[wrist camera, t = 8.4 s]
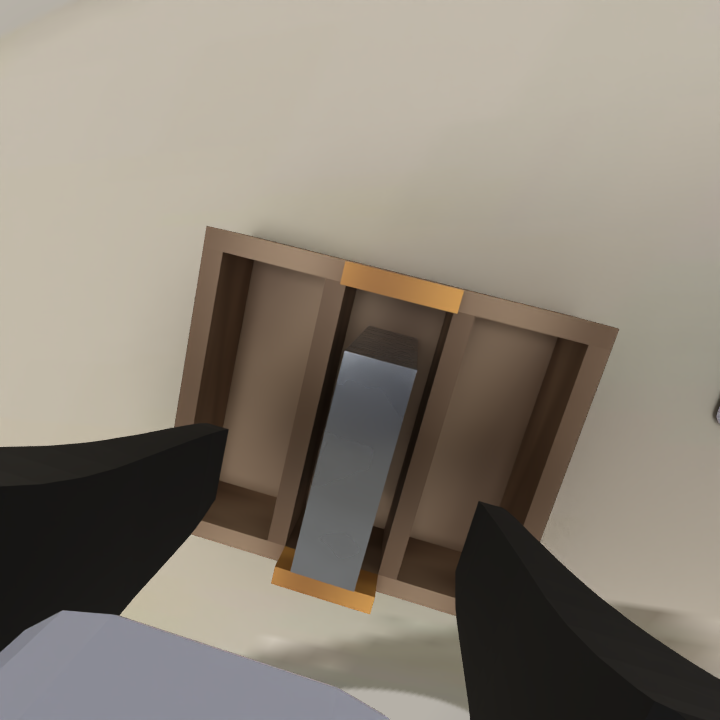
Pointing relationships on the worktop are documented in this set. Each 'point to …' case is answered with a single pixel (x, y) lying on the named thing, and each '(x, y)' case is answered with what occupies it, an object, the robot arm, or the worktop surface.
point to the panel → (355, 456)
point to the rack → (421, 420)
